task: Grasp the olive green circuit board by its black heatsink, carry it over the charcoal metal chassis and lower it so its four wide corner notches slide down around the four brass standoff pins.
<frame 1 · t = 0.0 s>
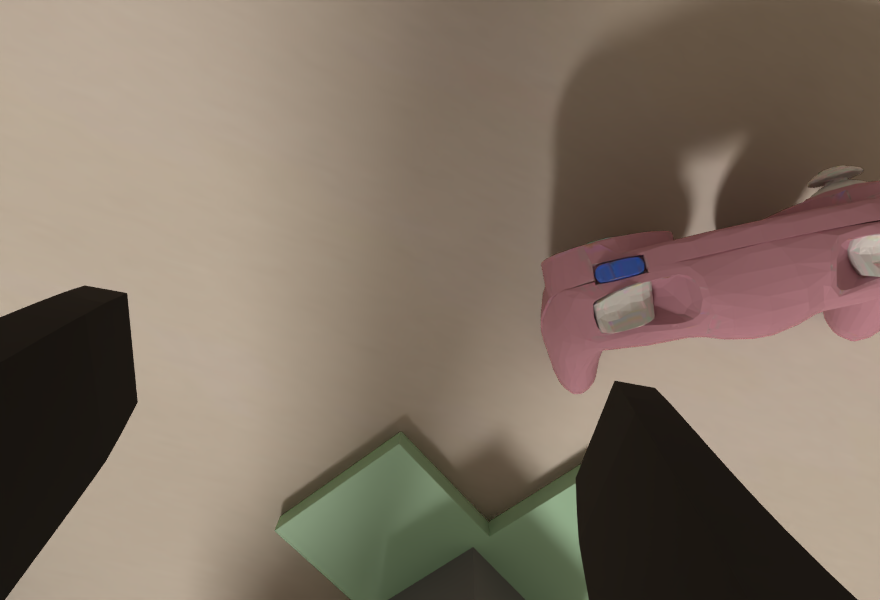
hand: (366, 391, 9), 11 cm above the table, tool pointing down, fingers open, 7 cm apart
video game controller: (685, 264, 20), on the table
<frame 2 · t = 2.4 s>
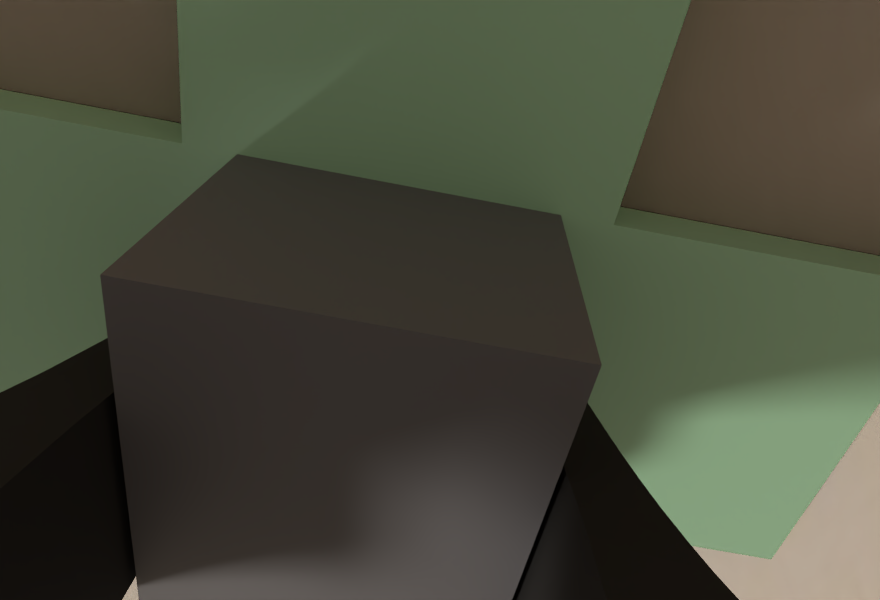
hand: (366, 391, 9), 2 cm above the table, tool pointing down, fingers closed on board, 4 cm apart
board: (381, 332, 11), on the table, touching gripper
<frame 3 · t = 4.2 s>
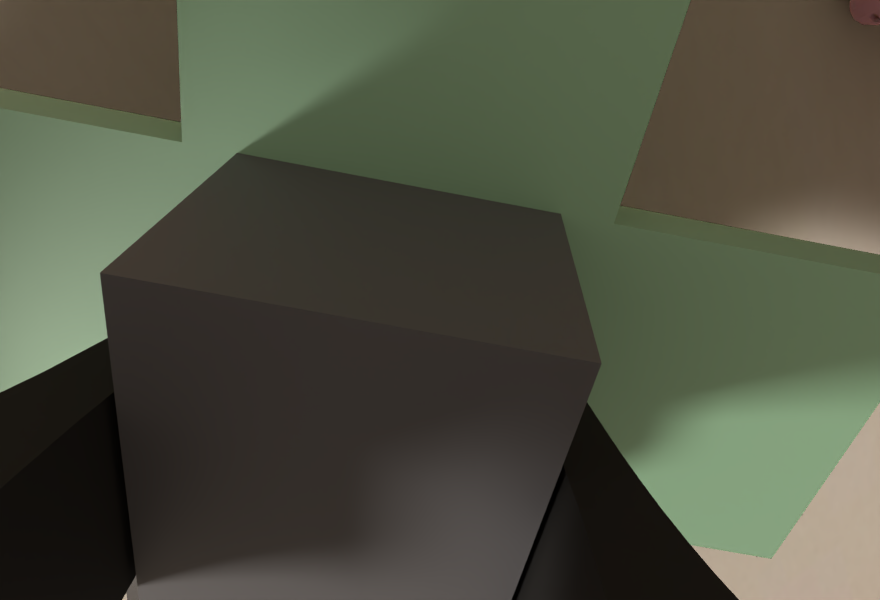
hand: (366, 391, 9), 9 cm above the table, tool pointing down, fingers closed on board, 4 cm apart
board: (381, 331, 11), point 7 cm above the table, touching gripper
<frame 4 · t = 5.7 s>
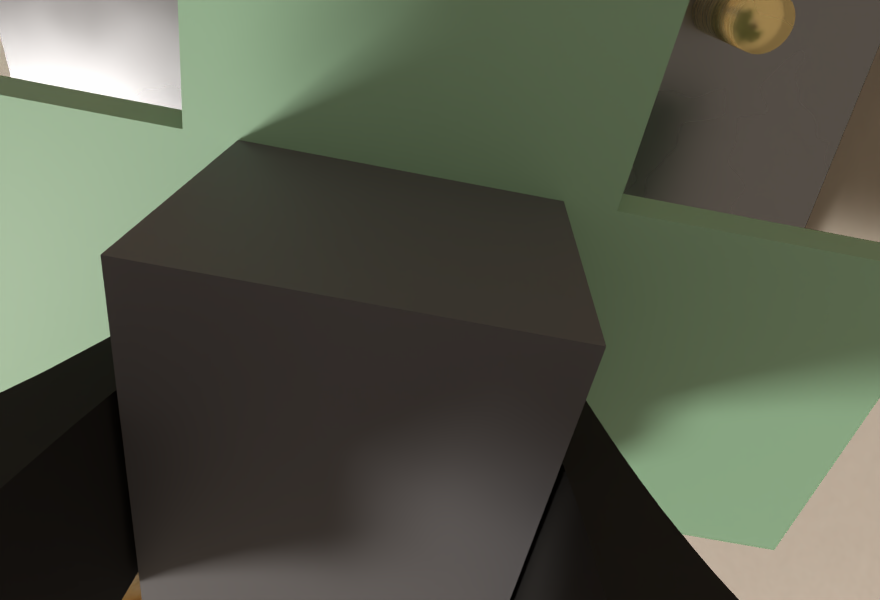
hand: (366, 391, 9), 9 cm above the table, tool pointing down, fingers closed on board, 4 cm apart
board: (383, 321, 11), point 7 cm above the table, touching gripper
chassis: (416, 220, 17), on the table
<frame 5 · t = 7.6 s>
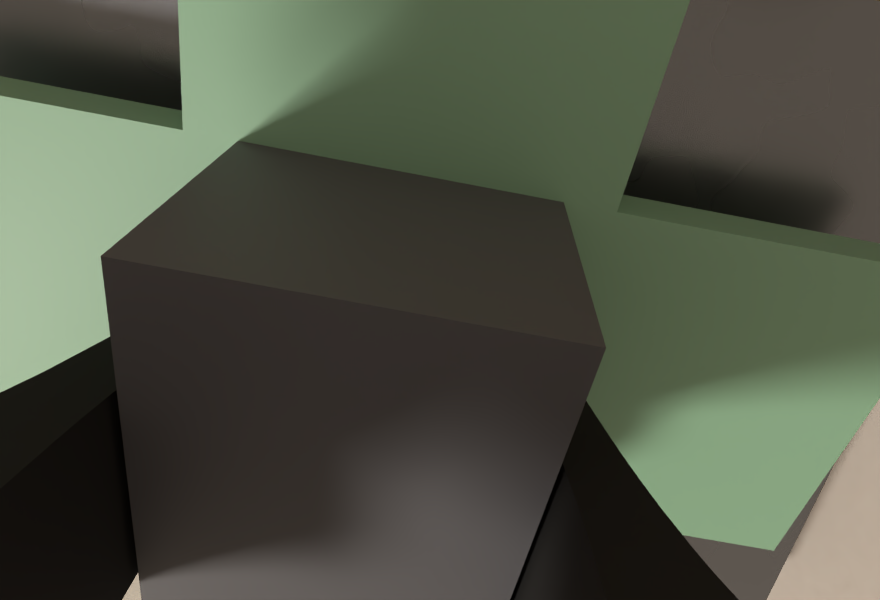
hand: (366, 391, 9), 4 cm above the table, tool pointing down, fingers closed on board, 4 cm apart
board: (383, 322, 11), point 3 cm above the table, touching gripper
chassis: (399, 259, 13), on the table
when the fingers open (4 cm above the table, at t = 9.1 s): board stays where it is, resting on chassis.
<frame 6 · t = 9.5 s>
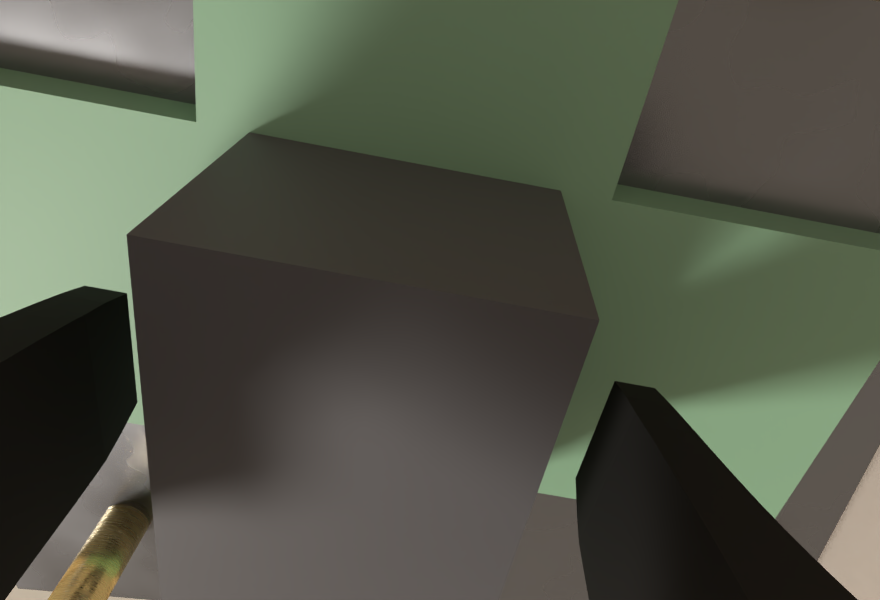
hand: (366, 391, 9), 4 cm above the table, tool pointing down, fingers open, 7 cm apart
board: (387, 309, 11), point 1 cm above the table, touching chassis
chassis: (395, 277, 12), on the table
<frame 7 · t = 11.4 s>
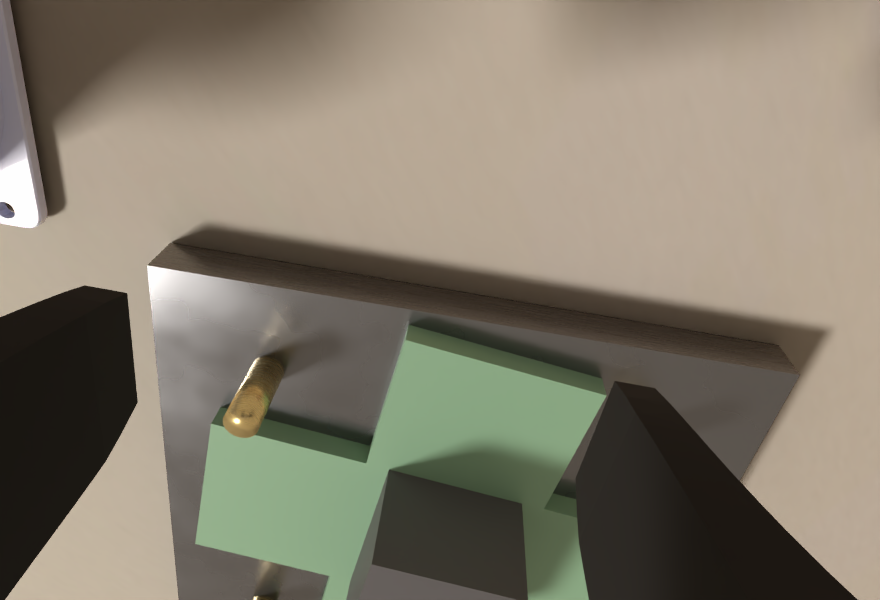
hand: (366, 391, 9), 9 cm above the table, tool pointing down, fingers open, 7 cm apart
board: (432, 525, 22), point 1 cm above the table, touching chassis
chassis: (434, 496, 24), on the table
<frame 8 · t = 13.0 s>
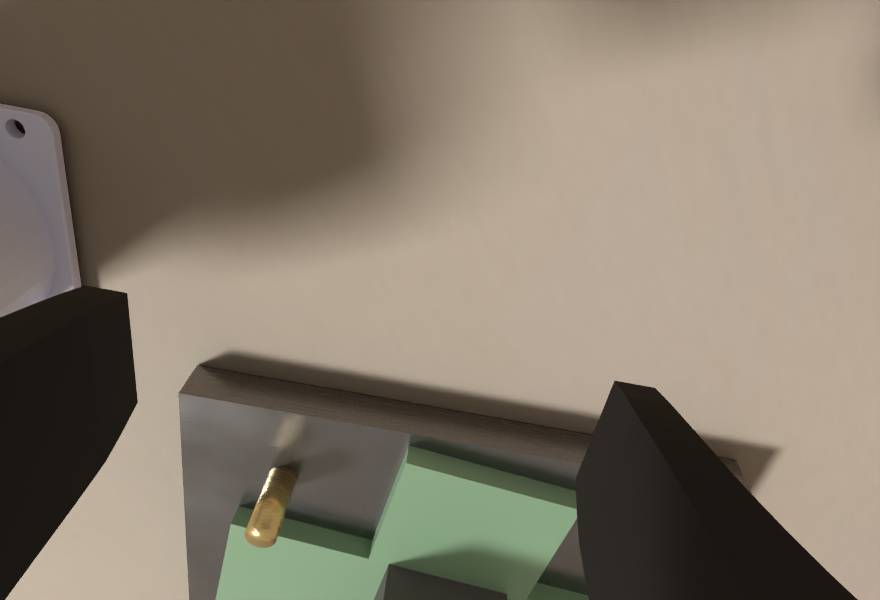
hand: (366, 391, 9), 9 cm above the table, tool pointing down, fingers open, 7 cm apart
chassis: (428, 575, 26), on the table
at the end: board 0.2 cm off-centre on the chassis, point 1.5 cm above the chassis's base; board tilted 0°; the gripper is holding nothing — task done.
